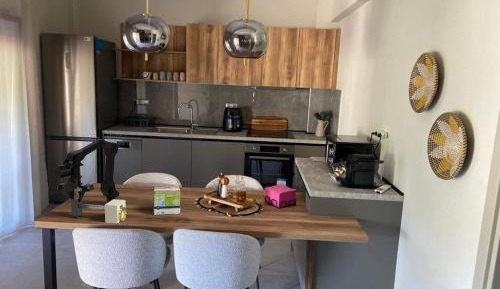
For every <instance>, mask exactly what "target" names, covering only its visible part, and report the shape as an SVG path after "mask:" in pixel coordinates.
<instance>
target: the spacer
mask: <svg viewBox="0 0 500 289" xmlns="http://www.w3.org/2000/svg"><path fill="white" fill-rule="evenodd" d="M123 210H124V215H123V218H122V211H123ZM127 211H128V210H127V207H126V208H125V207H121V208H120V210H119V214H118V216H119V220H120V222H124V221H125V220H126V218H127V214H128V212H127Z"/></svg>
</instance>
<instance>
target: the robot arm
mask: <svg viewBox="0 0 500 289" xmlns="http://www.w3.org/2000/svg"><path fill="white" fill-rule="evenodd" d="M100 148H103V153H104V155H105V168H104V180H103V182H100V188H99V190H100V192H101V193H102V195H103V196H104V197H105V201H106V203H105V204H107V203H109V202H110V201H112V200H113V199H116V200H117V198H118V197H119V196H120V192H119V191H118V190H117V189H116V183H115V181H114V172H115V158H116V156H117V154H118V151H119V144H118V143H117V142H113V141H108V140H105V139H103V138H97V139H95V140H93V141H92V142H91V143H89V144H87V145H85V146H83V147H82V148H80V149H77V150H75V149H74V150H72V151H69V152H68V153H67V154H66V157H65V158H64V161H63V162H62V164H61V165H60V164H59V165H56V168H55V169H54V171H53V172H54V177H55V178H56V179H62V178H67V181H65V182H61V183H59V184H58V185H57V190H58V191H63V192H65V193H67V194H68V197H69V198H70V200H71V199H72V198H74V197H75V190H77V189H78V191H77V194H78V197H79V202H81V201H82V202H83V198H84V195H85V194H86V192H90V191H92V190H94V189H95V186H94V184H92V183H86V184H84V185H83V182H82V178H83V175H82V173H81V167H83V166H84V163H83V162H82V161H84V160H85V158H86V156H88V155H90V154H91V153H93V152H95V151H96V150H98V149H100Z"/></svg>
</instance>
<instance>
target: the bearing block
mask: <svg viewBox="0 0 500 289" xmlns="http://www.w3.org/2000/svg"><path fill="white" fill-rule="evenodd" d="M104 206H105V210H104V216H105V219H104V222H105V223H107V224H108V223H109V224H118V223H120V222H121V221H120V220H119V216H118V214H119V210H120V208H121V207H125V208H126V209H127V207H126V199H117V198H116V199H113V200H112V201H110V202H109V203H107V204H106V203H105V204H104ZM123 215H124V210H123V211H122V218H123Z"/></svg>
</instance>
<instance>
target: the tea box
mask: <svg viewBox="0 0 500 289" xmlns="http://www.w3.org/2000/svg"><path fill="white" fill-rule="evenodd" d="M153 213H154V214H153V215H154V216H159V215H179V214H181V189H180V185H169V186H165V185H163V186H154V187H153Z"/></svg>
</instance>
